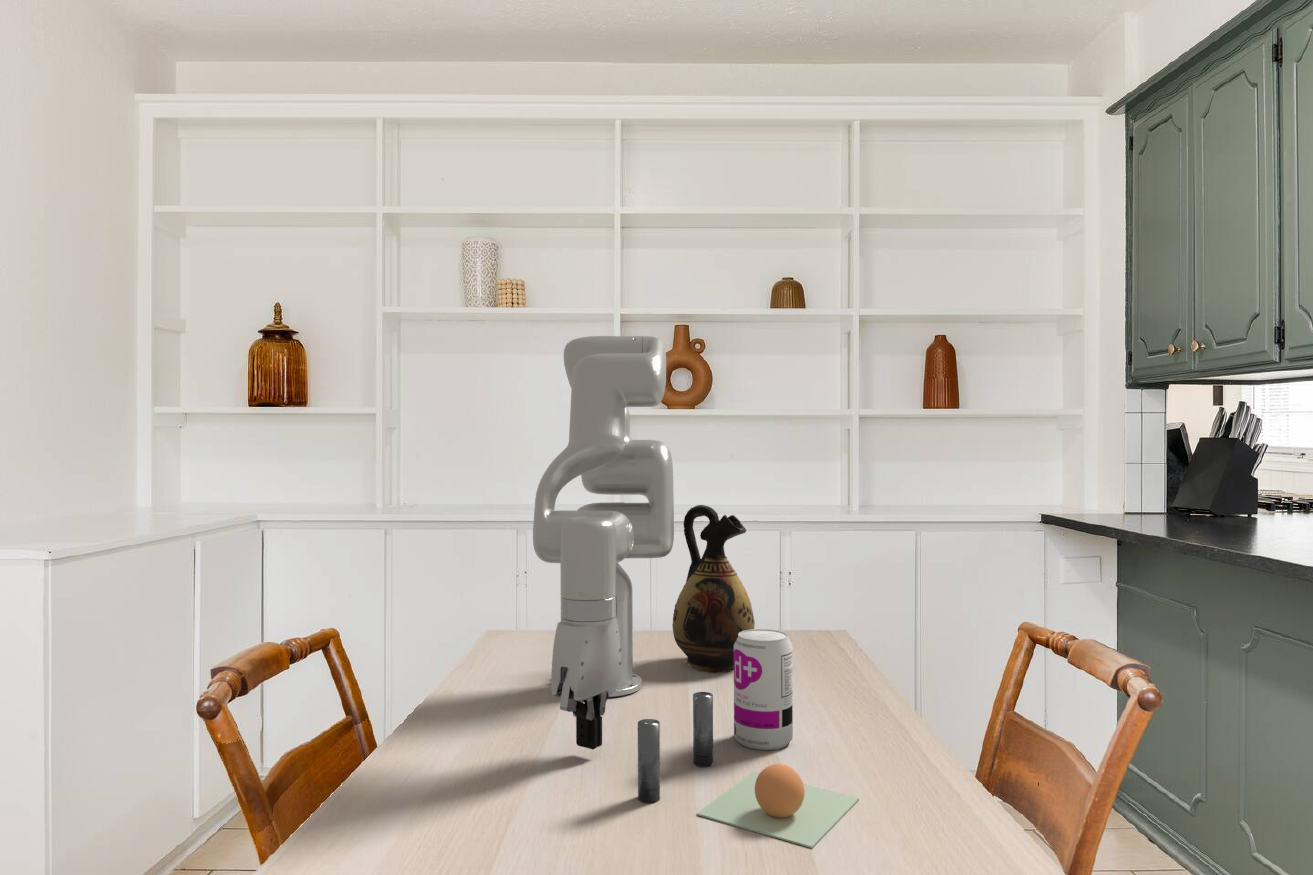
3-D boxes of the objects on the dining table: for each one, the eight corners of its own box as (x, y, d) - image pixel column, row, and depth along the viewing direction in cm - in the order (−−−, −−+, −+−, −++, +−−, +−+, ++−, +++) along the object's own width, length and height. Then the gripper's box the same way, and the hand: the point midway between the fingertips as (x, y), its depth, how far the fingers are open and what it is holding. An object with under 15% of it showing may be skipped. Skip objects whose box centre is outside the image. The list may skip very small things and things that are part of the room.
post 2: (689, 764, 109) (689, 695, 109) (699, 757, 111) (699, 690, 111) (706, 768, 108) (706, 699, 108) (716, 762, 110) (716, 693, 110)
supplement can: (755, 755, 112) (755, 644, 112) (723, 736, 119) (722, 631, 119) (804, 745, 116) (804, 637, 116) (770, 727, 123) (769, 625, 123)
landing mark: (696, 814, 95) (696, 813, 95) (753, 773, 106) (753, 771, 106) (812, 848, 87) (812, 846, 87) (859, 799, 99) (859, 797, 99)
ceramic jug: (766, 660, 160) (766, 504, 160) (735, 681, 146) (735, 510, 146) (687, 650, 168) (686, 501, 168) (650, 669, 154) (650, 507, 154)
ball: (785, 833, 91) (741, 810, 94) (808, 817, 95) (765, 796, 99) (794, 783, 90) (750, 763, 94) (817, 770, 95) (774, 750, 98)
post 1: (633, 799, 99) (633, 723, 99) (646, 791, 101) (645, 717, 101) (651, 804, 97) (651, 727, 97) (664, 796, 99) (663, 721, 99)
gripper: (600, 597, 120) (600, 724, 120) (530, 616, 108) (530, 757, 108) (643, 602, 116) (643, 734, 116) (575, 622, 104) (575, 770, 104)
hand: (589, 745), depth 112 cm, fingers closed
